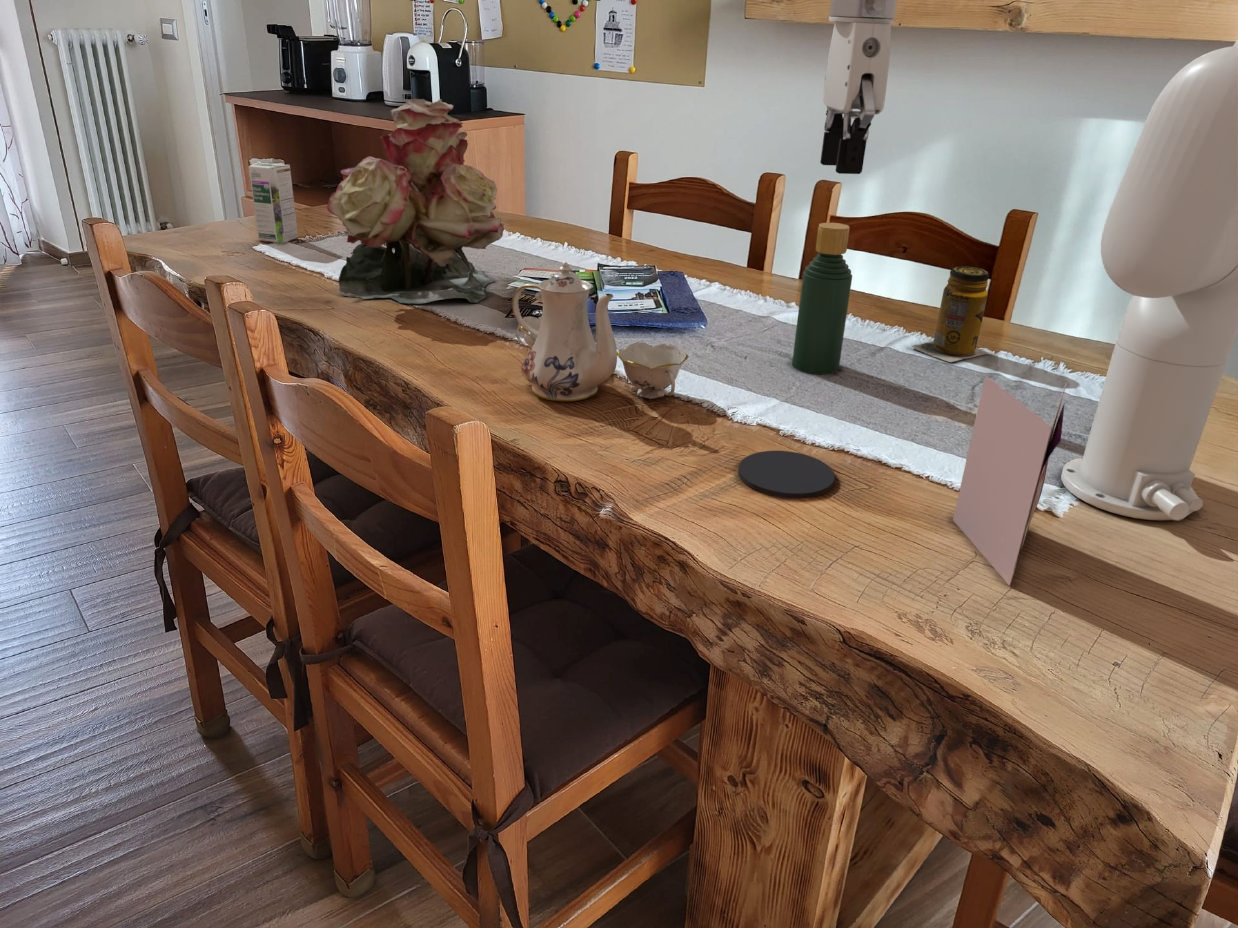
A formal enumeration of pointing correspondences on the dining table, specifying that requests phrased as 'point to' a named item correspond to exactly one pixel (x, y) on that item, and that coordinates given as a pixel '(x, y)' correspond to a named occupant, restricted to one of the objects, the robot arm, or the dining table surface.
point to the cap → (832, 238)
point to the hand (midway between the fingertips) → (840, 167)
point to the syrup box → (273, 202)
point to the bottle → (822, 314)
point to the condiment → (959, 316)
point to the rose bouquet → (417, 213)
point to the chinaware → (585, 346)
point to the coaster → (786, 474)
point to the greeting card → (1004, 475)
